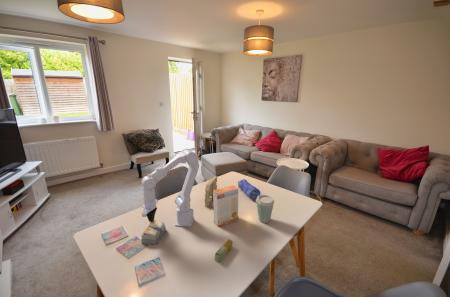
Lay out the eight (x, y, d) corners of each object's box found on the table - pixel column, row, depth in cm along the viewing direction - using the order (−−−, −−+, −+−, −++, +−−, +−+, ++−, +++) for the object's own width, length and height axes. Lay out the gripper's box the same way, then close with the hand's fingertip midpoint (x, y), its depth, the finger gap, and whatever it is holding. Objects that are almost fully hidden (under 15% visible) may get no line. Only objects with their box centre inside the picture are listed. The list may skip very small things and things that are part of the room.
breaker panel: (165, 229, 113) (165, 222, 112) (156, 244, 102) (155, 236, 100) (152, 228, 114) (151, 221, 113) (141, 243, 102) (140, 235, 101)
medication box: (219, 263, 91) (219, 256, 90) (214, 260, 92) (214, 253, 91) (232, 247, 101) (232, 240, 100) (227, 244, 102) (228, 238, 101)
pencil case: (237, 189, 163) (237, 178, 161) (246, 187, 166) (246, 176, 164) (250, 202, 143) (251, 189, 141) (260, 199, 147) (261, 187, 144)
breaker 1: (161, 226, 111) (162, 223, 111) (159, 230, 108) (160, 227, 108) (151, 221, 111) (152, 218, 111) (148, 225, 108) (150, 222, 108)
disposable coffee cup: (276, 220, 122) (278, 197, 119) (266, 228, 115) (268, 204, 111) (261, 213, 129) (262, 192, 126) (251, 220, 122) (252, 198, 118)
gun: (208, 208, 135) (209, 186, 132) (204, 207, 136) (204, 186, 133) (217, 194, 158) (217, 176, 156) (213, 194, 159) (213, 175, 157)
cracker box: (233, 215, 127) (233, 184, 122) (238, 220, 122) (239, 188, 117) (213, 221, 121) (212, 189, 115) (217, 227, 115) (217, 194, 110)
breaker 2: (156, 233, 106) (158, 230, 105) (154, 237, 102) (155, 234, 102) (146, 228, 105) (147, 225, 105) (143, 232, 102) (144, 229, 102)
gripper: (148, 191, 113) (150, 213, 117) (135, 205, 99) (137, 229, 103) (160, 192, 113) (162, 214, 116) (148, 206, 99) (150, 230, 102)
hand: (151, 221), depth 109 cm, fingers closed, pressing on breaker 1
